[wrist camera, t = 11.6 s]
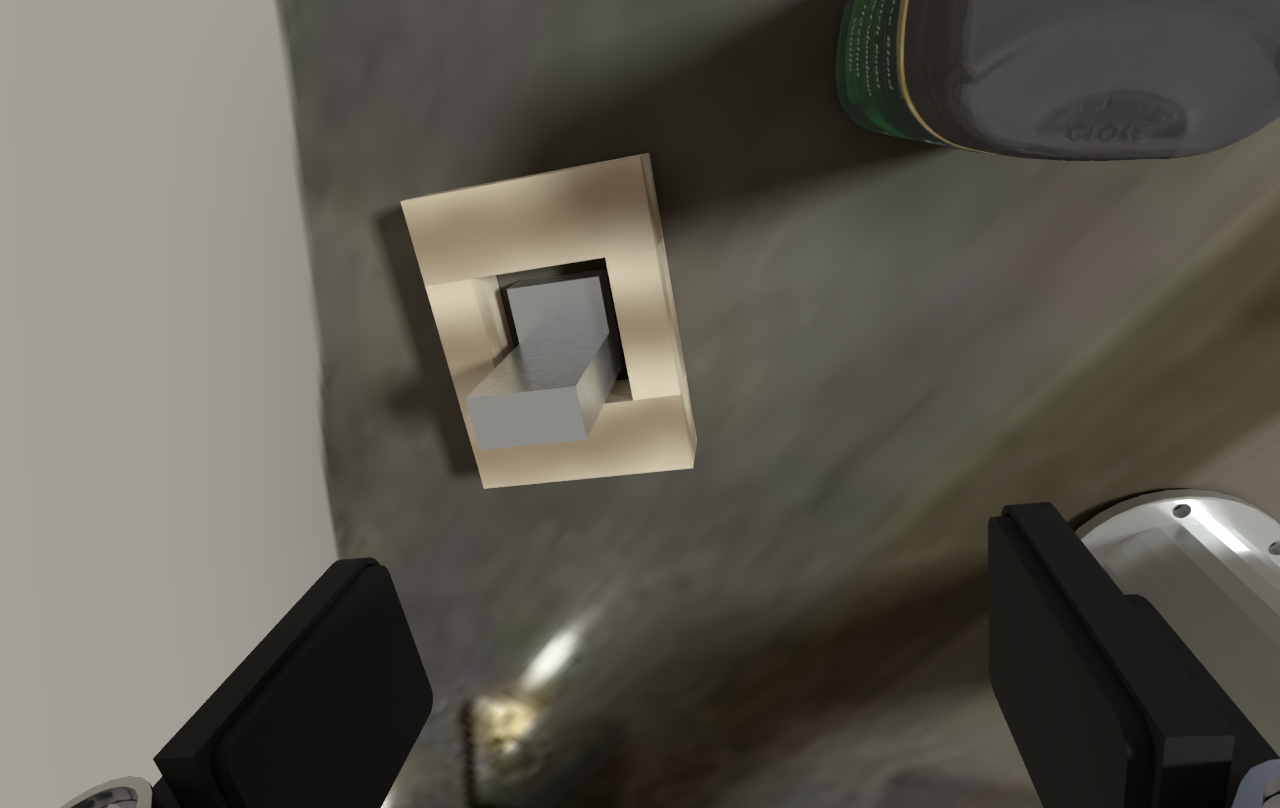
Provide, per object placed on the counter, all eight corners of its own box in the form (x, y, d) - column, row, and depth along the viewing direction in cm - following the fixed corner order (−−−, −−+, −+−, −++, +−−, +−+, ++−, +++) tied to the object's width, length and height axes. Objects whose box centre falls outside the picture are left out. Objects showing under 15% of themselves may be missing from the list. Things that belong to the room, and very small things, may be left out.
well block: (696, 440, 41) (693, 468, 38) (503, 461, 43) (484, 488, 40) (649, 152, 35) (639, 156, 32) (429, 194, 38) (400, 201, 34)
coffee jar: (823, 139, 34) (902, 163, 17) (846, -53, 31) (970, -260, 14) (1035, 146, 33) (1348, 179, 16) (1080, -53, 30) (1529, -278, 13)
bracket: (623, 364, 40) (586, 439, 31) (539, 374, 41) (479, 449, 31) (605, 268, 38) (561, 317, 29) (518, 281, 39) (447, 332, 30)
